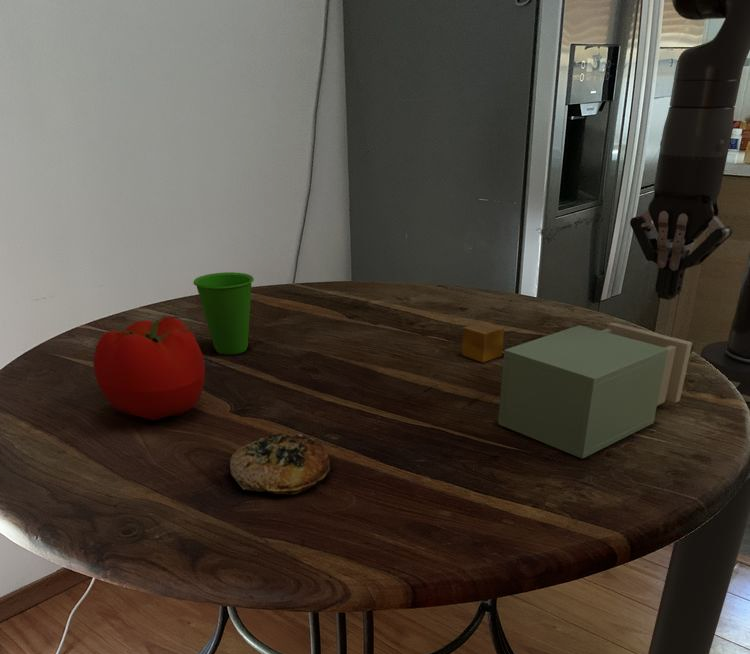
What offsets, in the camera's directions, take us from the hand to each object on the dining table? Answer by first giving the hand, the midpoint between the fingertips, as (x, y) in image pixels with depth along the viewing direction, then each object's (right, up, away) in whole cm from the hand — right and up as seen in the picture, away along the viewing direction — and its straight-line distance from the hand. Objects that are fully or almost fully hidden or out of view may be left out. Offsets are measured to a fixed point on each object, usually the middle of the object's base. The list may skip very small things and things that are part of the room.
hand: (666, 297), depth 95 cm
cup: (-61, -2, +22) cm, 65 cm away
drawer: (-5, -13, +1) cm, 13 cm away
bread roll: (-48, -24, -14) cm, 56 cm away
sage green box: (-13, -17, -4) cm, 21 cm away
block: (-21, -4, +18) cm, 28 cm away
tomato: (-66, -15, +1) cm, 68 cm away
